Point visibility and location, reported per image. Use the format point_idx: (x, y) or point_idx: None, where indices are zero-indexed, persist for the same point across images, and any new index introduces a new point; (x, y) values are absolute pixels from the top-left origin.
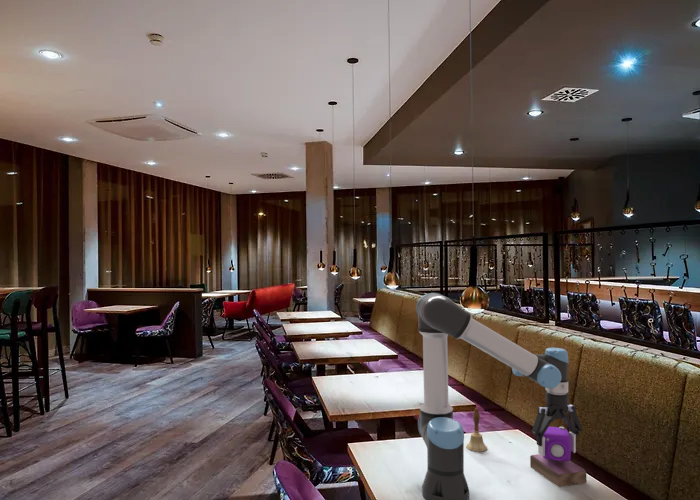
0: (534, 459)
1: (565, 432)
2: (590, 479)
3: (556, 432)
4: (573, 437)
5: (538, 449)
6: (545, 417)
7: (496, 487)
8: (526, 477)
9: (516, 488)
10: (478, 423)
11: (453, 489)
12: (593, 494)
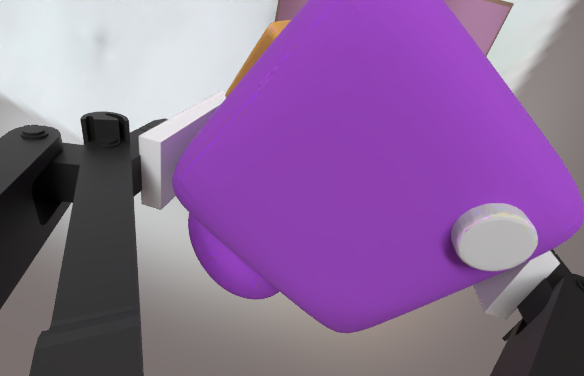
0: (279, 5)
1: (388, 304)
2: None
3: (297, 259)
4: (476, 284)
5: (208, 98)
6: (51, 345)
7: (33, 62)
8: (195, 55)
9: (104, 108)
10: None
11: None
12: None
